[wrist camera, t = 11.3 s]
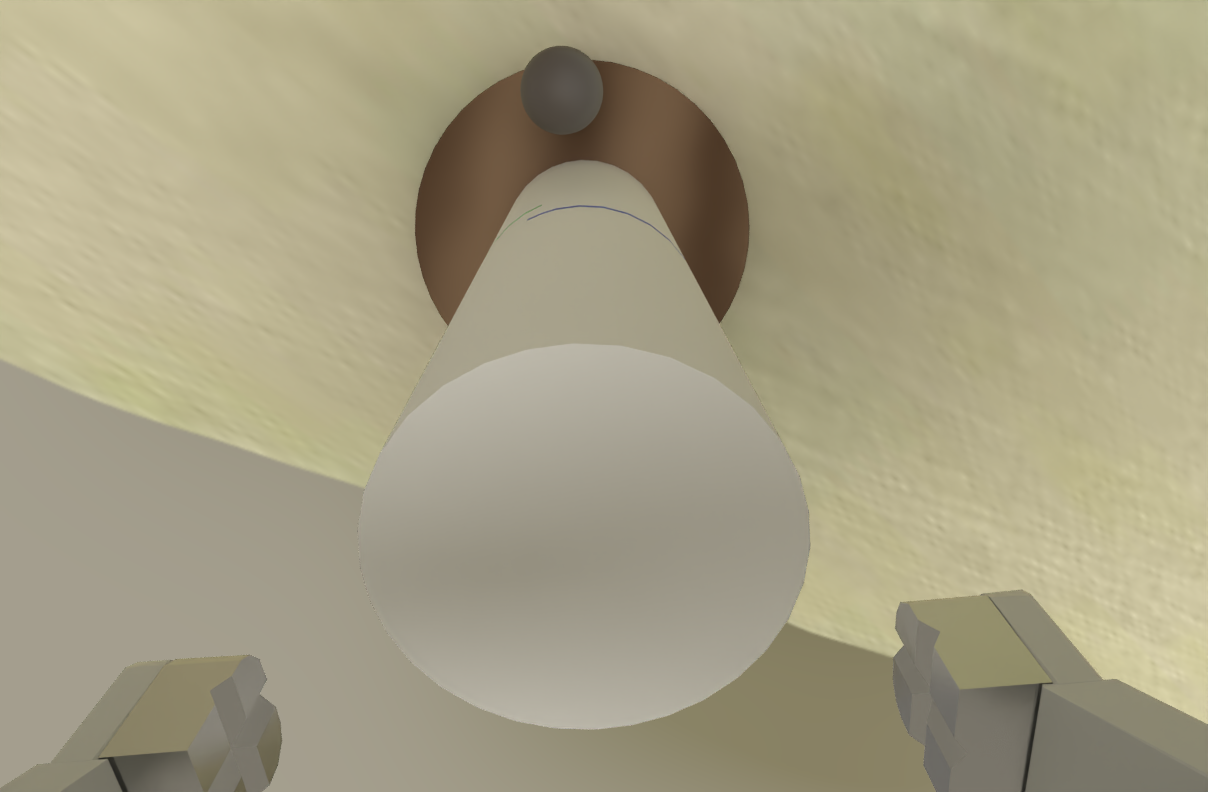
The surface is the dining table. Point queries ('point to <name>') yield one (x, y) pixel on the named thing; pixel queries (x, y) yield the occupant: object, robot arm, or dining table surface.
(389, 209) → the dining table surface
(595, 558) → the cylindrical container
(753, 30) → the dining table surface
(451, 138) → the roll holder
